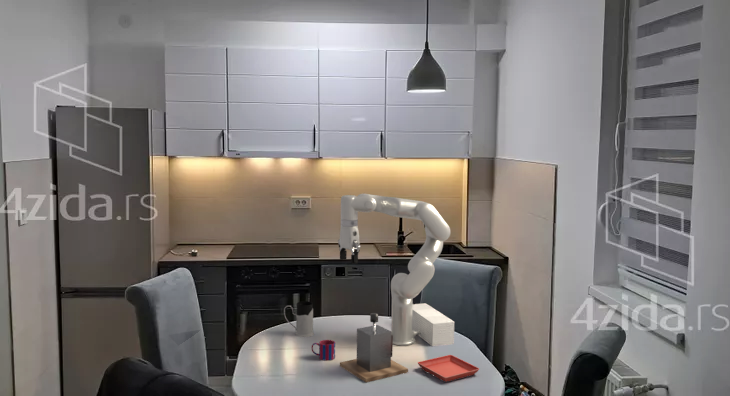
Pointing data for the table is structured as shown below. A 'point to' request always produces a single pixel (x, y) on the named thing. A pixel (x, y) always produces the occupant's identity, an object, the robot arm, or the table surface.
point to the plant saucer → (448, 368)
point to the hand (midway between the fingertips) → (348, 261)
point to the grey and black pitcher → (303, 319)
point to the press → (374, 348)
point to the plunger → (374, 319)
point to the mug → (326, 350)
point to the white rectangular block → (432, 325)
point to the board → (374, 375)
